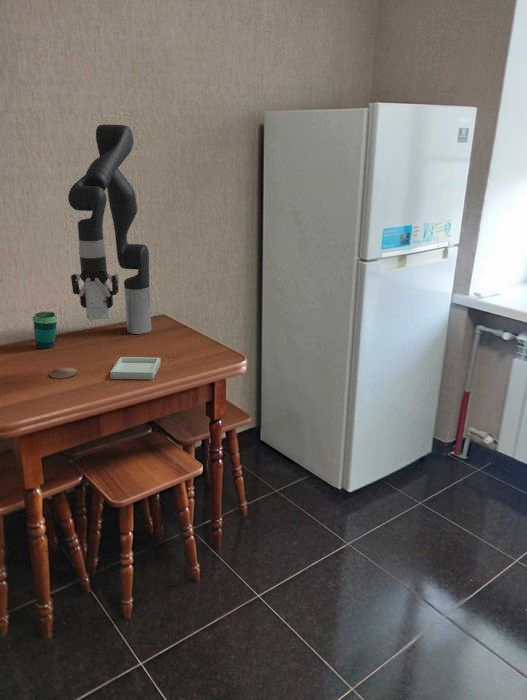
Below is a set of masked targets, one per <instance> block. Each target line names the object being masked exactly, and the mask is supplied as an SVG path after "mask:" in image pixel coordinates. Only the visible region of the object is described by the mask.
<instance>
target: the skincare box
mask: <svg viewBox="0 0 527 700" xmlns="http://www.w3.org/2000/svg"><path fill="white" fill-rule="evenodd" d="M107 284H108V283H107V281H106V282H105V283H104V286H105V287H106V286H107ZM85 302H86V308H85V310H86V313H85V314H86V318H87V319H88V320H89V321H96V320H97V321H98V320H106V319H109V317H110V313H109V308H107V295H106V294H105V292H104V291H103V290H102V289H101V288H100V286H99V285H98V284H97V283H96V281H86V291H85Z"/></svg>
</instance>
